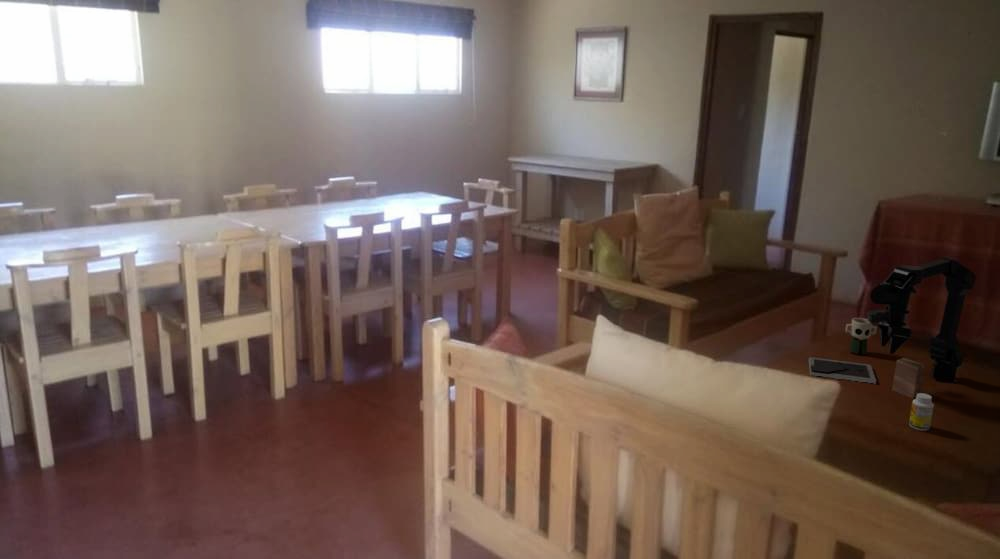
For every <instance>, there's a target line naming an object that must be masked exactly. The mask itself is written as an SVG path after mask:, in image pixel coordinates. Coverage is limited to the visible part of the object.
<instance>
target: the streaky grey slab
mask: <svg viewBox="0 0 1000 559" xmlns="http://www.w3.org/2000/svg"><path fill="white" fill-rule="evenodd" d="M924 369H925V364H924V363H921V362H918V361H914V360H911V359H908V358H905V357H902V358H898V359H897V360H896V363H895V369H894V374H893V375H894V376H893V383H892V388H891V392H894V391H895V392H894V393H897V392H898V393H897V394H900V395H902V394H903V396H905V395H906V397H908V398H910V399H913V398H916V396H917V394H918V393H921V388H922V383H923V382H922V381H923V376H924Z"/></svg>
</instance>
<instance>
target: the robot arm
mask: <svg viewBox="0 0 1000 559" xmlns="http://www.w3.org/2000/svg"><path fill="white" fill-rule="evenodd" d="M938 275H943V277H945V278H944V285H945V288H946V291H947V299H946V302H945V307H944V311H943V315H942V318H941V319H942V320H941V324H940V329H939V333H937V335H935V336H933V337H931V338H930V342H929V346H928V348H929V355H930V359H931V360H934V363H932V364H931V370H930V373H929V374H930V376H931V377H932V378H933V380H935V381H936V382H943V383H944V382H946V383H948V382H949V383H957V379H956V374H957V368H959V367H960V366H962V365H963V363H964V361H965V360H964V358H963V357H962V355H961V354H960V352H959V350H960V349H959V348H960V343H959V341H958V338H957V333H958V328H959V325H960V320H961V315H962V311H963V306H964V302H965V298H966V296H967V295H968V294H969V293H970V292H971V291H972V290H973V289H974V288H973V287H975V286H974V285H975V282H976V278H977V277H976V274H975V272H974V271H972V270H970V269H968V268H967V267H966V266H964V265H963V264H961V263H960V262H959V261H958V260H956V259H954V258H949V257H945V256H944V257H941V258H939V259H935V260H933V261H929V262H926V263H922V264H918V265H898V266H896V267H895V268H894V269H893V271H892V272H891V273H890V274H889V275H888V277H887V278H886V279H885V280H884V281H883V283H882V282H879V283H878V284H877V286H876V287H875V286H874V287H873V289H872V290H871V291H870V293H869V298H870V300H871V302H872V303H873V304H875V305H884V308H883V309H874V310H869V311H866V317H867V318H866V319H868V321H869V322H870V323H871V324H872V325H873V324H876V325H877V328H879V331H880V346H881V347H886V345H888V342H889V354H890V355H893V354H895V353H896V351H897V350H898V349H899V348H900V347H901V346H902V345H903V344H904V343H905V342H906V341H908V340H909V339H910V338H912V335H913V331H912V329H911V328H910V327H909V326H907V322H905V321H906V320H905V319H906V316H907V315H909V313H910V310H908V308H909V305H910V299H911V296H912V294H917V292H918V291H917V290H916V288H915V287H916V286H919V285H920V284H921V283H922V281H923V280H924V279H928V278H931V277H935V276H938Z"/></svg>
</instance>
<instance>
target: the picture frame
mask: <svg viewBox="0 0 1000 559" xmlns="http://www.w3.org/2000/svg"><path fill="white" fill-rule="evenodd" d="M808 367H809V373H810V374H809V375H814V376H813V377H816V376H823V377H830V378H829V379H831V378H834V379H833V380H838V379H846V380H851V381H850V382H854V381H858V382H857V383H861V382H868V383H867V384H869V383H874V384H873V385H876V384H877V379H876V377H875V373H874V371H873V368H872V365H871V364H868V363H859V362H851V361H844V360H834V359H826V358H818V357H812V356H810V357H808ZM823 377H822V378H823ZM846 380H845V381H846Z"/></svg>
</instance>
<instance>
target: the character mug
mask: <svg viewBox="0 0 1000 559" xmlns="http://www.w3.org/2000/svg"><path fill="white" fill-rule="evenodd" d="M849 327H850V329H849ZM877 328H878V325H877V326H876V325H873V324H871V323H870V322H869V321H868V318H861V317H854V318H852V319H851V323H847V324H846V325H845V333H850V336H852V338H851V341H850V345H849V350H848V351H850V352H851V353H853V354H856V355H858V354H861V355H866V354H868V340H867V339H869V338H871V335H876V334H877ZM872 329H873V331H872Z"/></svg>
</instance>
